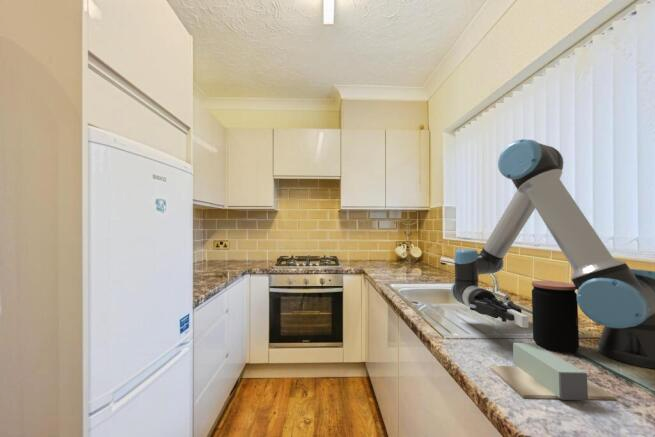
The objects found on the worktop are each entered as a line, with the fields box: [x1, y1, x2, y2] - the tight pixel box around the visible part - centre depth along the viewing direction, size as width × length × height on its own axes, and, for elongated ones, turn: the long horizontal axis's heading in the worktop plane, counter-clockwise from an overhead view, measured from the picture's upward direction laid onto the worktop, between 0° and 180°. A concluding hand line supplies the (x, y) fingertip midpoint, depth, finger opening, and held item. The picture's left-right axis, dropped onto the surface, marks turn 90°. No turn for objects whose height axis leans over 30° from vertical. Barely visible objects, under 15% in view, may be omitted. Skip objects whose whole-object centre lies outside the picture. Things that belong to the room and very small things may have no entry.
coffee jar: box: [531, 280, 580, 354], centre depth 88 cm, size 11×11×18 cm
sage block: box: [512, 342, 589, 401], centre depth 67 cm, size 5×5×16 cm
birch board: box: [489, 365, 617, 401], centre depth 67 cm, size 18×13×1 cm
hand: (525, 321), depth 74 cm, fingers closed
